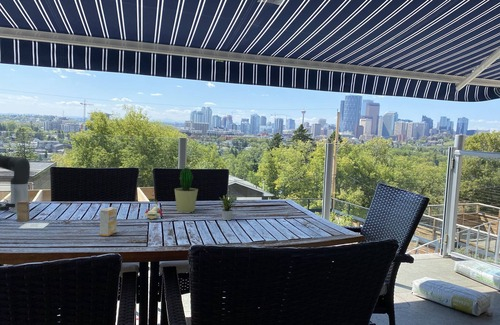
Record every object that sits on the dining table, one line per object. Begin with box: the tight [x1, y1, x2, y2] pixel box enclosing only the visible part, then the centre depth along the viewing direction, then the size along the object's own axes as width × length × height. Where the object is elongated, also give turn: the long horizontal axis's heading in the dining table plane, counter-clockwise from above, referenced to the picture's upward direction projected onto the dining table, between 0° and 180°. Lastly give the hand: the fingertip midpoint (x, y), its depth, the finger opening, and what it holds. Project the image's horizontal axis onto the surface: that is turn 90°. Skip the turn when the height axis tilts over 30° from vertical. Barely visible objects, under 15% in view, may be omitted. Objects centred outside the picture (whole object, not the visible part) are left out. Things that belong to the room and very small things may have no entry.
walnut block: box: [16, 200, 30, 223], centre depth 214 cm, size 5×5×11 cm
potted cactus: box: [174, 166, 199, 213], centre depth 257 cm, size 15×15×30 cm
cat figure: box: [144, 200, 163, 220], centre depth 241 cm, size 10×9×25 cm
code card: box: [18, 222, 50, 229], centre depth 205 cm, size 11×12×1 cm
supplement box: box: [99, 206, 118, 237], centre depth 195 cm, size 8×5×13 cm, turn 168°
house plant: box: [217, 193, 239, 221], centre depth 236 cm, size 14×14×16 cm
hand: (12, 207), depth 212 cm, fingers open, 8 cm apart
